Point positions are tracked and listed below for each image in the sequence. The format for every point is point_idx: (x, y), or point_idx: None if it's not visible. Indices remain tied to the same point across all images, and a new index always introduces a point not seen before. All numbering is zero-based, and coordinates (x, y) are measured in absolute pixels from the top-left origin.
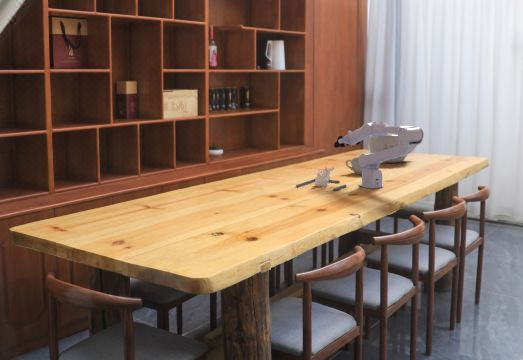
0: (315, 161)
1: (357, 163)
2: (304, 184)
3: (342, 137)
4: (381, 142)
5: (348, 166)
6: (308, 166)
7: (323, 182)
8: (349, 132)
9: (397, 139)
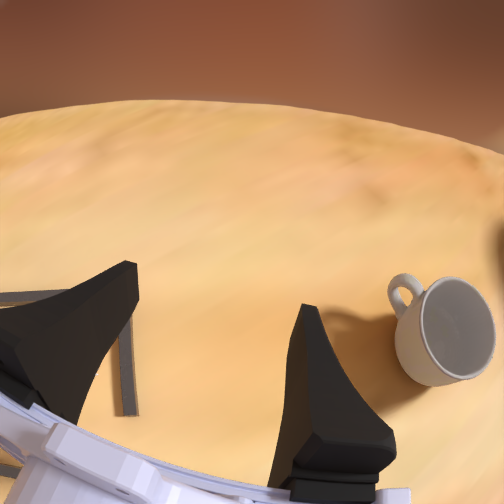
0: (431, 137)
1: (415, 340)
2: (14, 304)
3: (19, 367)
4: None
5: (391, 299)
6: (372, 144)
7: None
8: (69, 469)
9: None
